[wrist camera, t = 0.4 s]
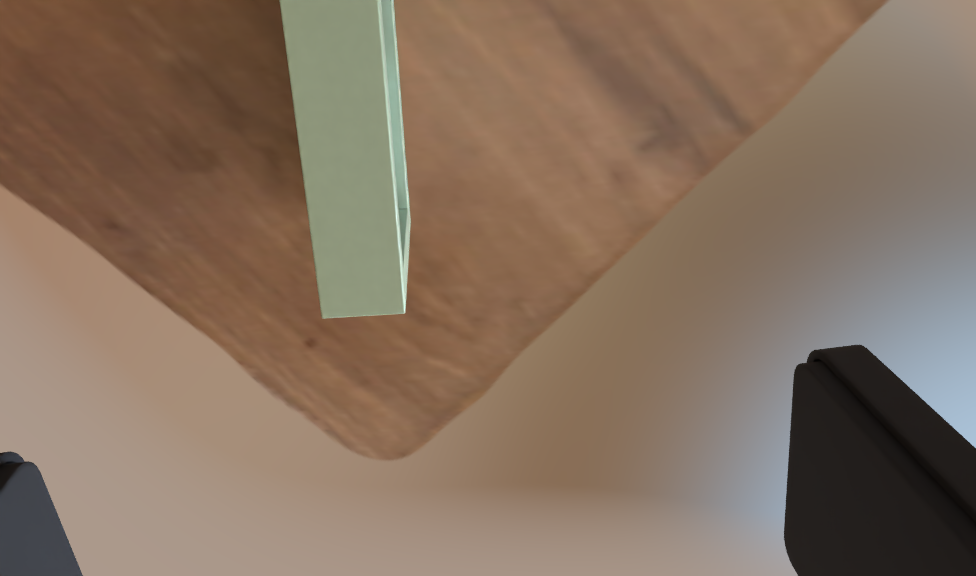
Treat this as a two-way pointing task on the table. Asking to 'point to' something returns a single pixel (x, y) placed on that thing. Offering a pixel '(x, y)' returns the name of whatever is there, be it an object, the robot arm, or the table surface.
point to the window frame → (351, 151)
